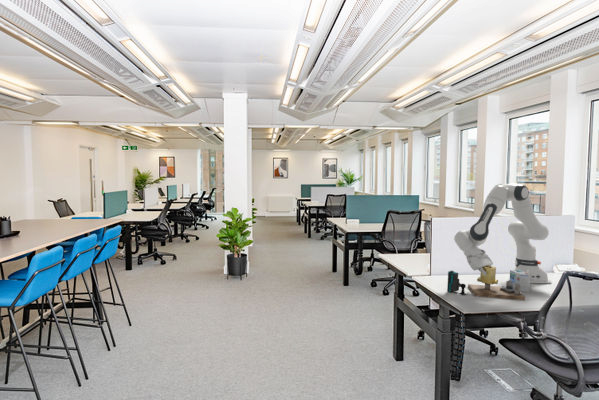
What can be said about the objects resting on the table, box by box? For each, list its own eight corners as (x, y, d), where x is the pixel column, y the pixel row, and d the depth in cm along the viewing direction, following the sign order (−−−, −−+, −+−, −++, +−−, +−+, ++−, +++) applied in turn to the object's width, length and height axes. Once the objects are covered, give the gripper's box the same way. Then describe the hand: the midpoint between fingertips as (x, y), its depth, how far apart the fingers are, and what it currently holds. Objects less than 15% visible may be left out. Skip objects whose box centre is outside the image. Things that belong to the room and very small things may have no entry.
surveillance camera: (464, 275, 217) (447, 271, 225) (463, 295, 218) (446, 291, 225) (468, 273, 221) (452, 270, 229) (467, 294, 222) (451, 290, 229)
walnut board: (513, 290, 230) (514, 277, 230) (524, 300, 213) (525, 286, 212) (467, 287, 236) (468, 274, 235) (475, 296, 218) (475, 282, 218)
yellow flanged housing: (482, 278, 233) (483, 263, 233) (501, 282, 225) (502, 267, 224) (474, 280, 226) (475, 266, 226) (492, 285, 218) (493, 269, 217)
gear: (515, 289, 227) (516, 278, 227) (521, 293, 218) (522, 282, 218) (497, 287, 229) (498, 277, 229) (502, 292, 220) (503, 281, 220)
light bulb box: (508, 286, 240) (509, 269, 240) (518, 286, 241) (519, 269, 240) (519, 291, 230) (520, 273, 229) (529, 291, 230) (531, 274, 229)
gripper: (469, 253, 223) (484, 273, 216) (485, 250, 236) (501, 268, 229) (461, 259, 227) (476, 279, 220) (478, 255, 240) (493, 274, 233)
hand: (489, 273), depth 225 cm, fingers closed on yellow flanged housing, 6 cm apart
